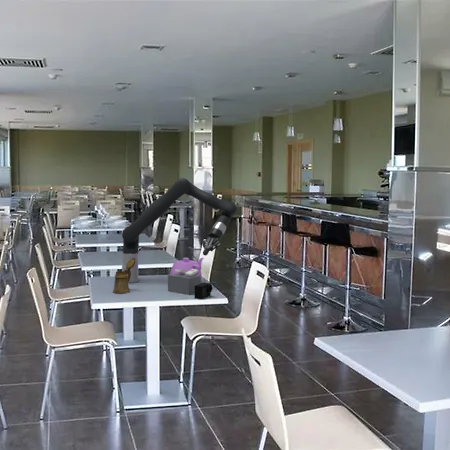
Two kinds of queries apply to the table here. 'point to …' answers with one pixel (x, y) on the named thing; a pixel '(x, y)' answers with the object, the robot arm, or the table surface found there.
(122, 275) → the wooden mug
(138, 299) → the table surface
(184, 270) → the back rocker
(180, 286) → the switch box
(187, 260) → the teapot
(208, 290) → the digital camera
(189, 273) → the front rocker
